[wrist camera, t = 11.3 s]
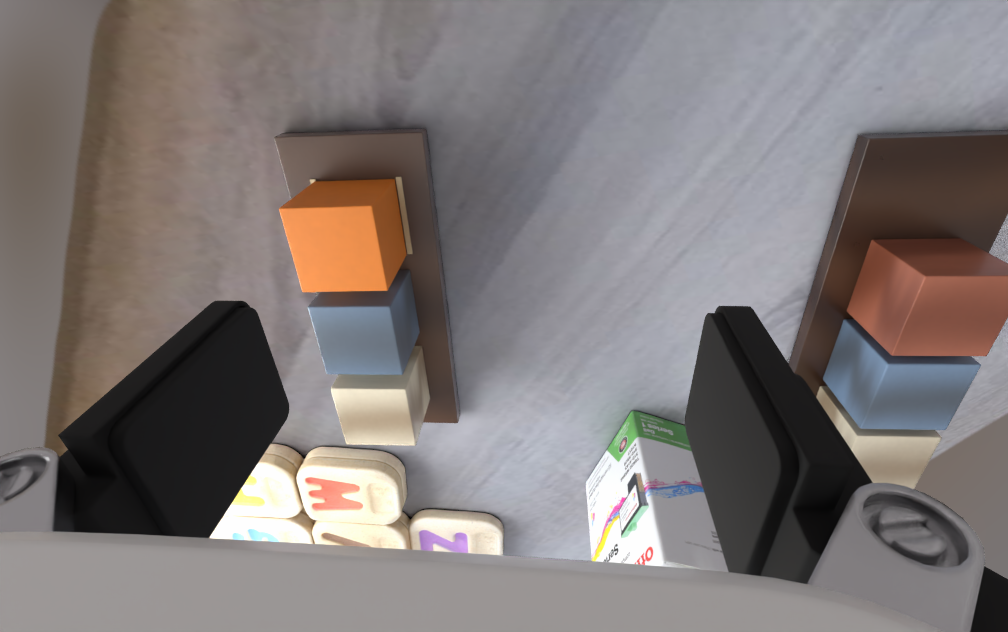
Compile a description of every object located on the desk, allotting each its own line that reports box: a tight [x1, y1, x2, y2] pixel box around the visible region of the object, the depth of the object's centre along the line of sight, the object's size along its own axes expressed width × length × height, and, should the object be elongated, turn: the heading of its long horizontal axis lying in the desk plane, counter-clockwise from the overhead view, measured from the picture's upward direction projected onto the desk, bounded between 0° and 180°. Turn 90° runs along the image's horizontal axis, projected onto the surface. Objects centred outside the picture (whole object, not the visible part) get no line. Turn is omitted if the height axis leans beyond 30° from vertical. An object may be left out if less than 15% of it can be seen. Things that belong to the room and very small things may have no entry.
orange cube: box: [279, 179, 407, 292], centre depth 26 cm, size 4×4×4 cm
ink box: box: [586, 411, 728, 572], centre depth 33 cm, size 8×5×12 cm, turn 161°
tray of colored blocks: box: [274, 129, 460, 446], centre depth 30 cm, size 20×8×6 cm, turn 3°
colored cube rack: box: [789, 130, 1008, 489], centre depth 28 cm, size 20×8×6 cm, turn 3°
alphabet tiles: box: [210, 444, 504, 555], centre depth 47 cm, size 33×33×2 cm
